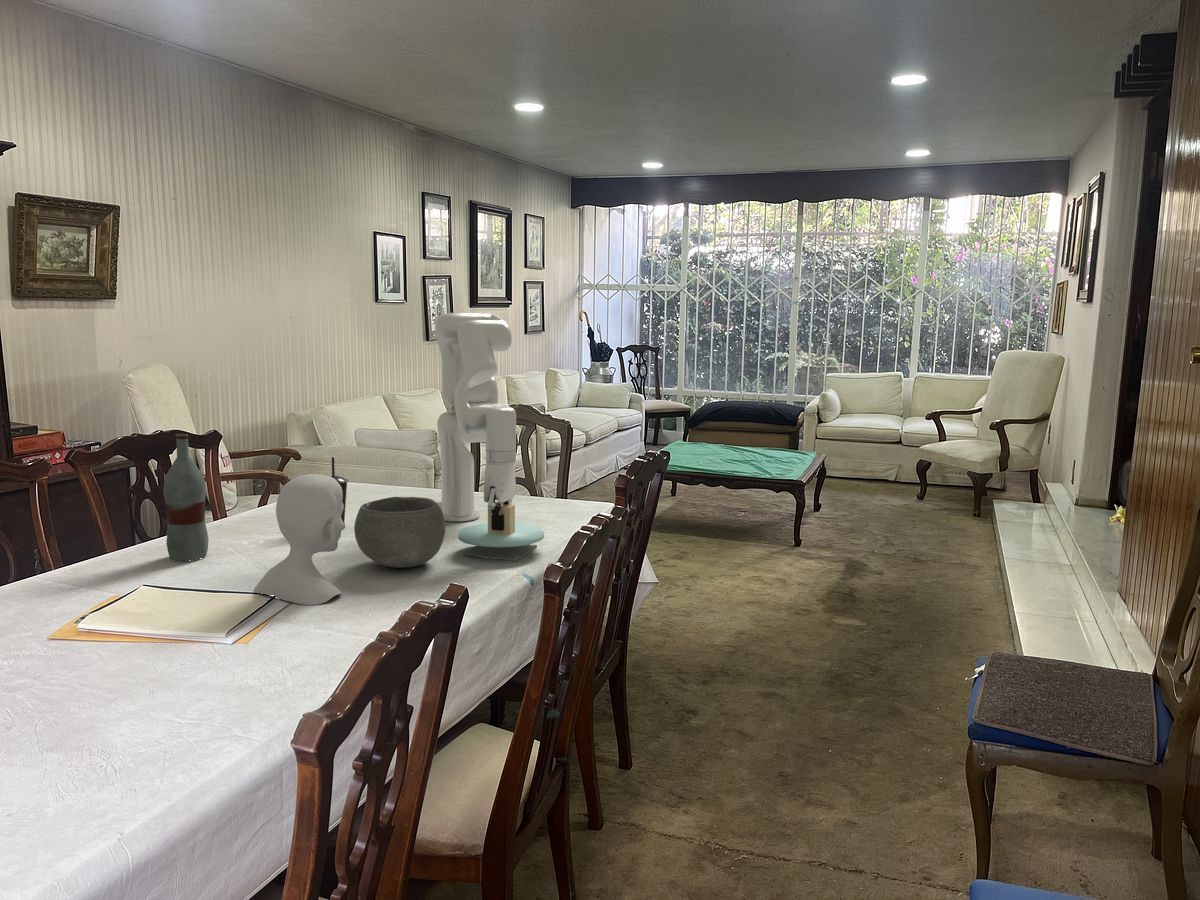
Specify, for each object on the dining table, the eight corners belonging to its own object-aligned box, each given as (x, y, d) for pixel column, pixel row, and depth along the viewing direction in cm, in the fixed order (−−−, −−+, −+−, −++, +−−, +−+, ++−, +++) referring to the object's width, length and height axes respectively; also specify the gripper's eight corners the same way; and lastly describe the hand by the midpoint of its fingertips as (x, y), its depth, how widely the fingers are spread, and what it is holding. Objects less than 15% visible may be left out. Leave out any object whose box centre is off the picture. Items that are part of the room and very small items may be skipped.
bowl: (425, 581, 198) (424, 516, 196) (339, 574, 202) (337, 510, 200) (458, 556, 219) (458, 497, 217) (379, 551, 223) (378, 492, 221)
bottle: (158, 559, 213) (151, 435, 208) (191, 550, 221) (185, 430, 216) (184, 564, 208) (177, 438, 204) (217, 555, 216) (211, 433, 212)
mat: (463, 555, 220) (463, 553, 220) (487, 542, 233) (487, 540, 233) (515, 561, 216) (515, 558, 216) (536, 547, 229) (536, 545, 229)
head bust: (380, 585, 195) (378, 473, 191) (312, 609, 179) (308, 487, 175) (312, 569, 206) (308, 463, 202) (241, 590, 190) (236, 476, 186)
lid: (442, 542, 217) (442, 510, 216) (480, 523, 237) (480, 494, 236) (524, 550, 210) (524, 517, 209) (556, 530, 231) (556, 500, 230)
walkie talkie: (353, 526, 248) (351, 455, 245) (343, 532, 240) (341, 460, 237) (327, 525, 249) (325, 454, 246) (315, 531, 241) (313, 459, 238)
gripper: (500, 451, 230) (500, 520, 232) (472, 460, 214) (473, 534, 217) (527, 452, 227) (527, 522, 230) (501, 462, 212) (501, 537, 215)
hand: (501, 527), depth 223 cm, fingers closed on lid, 3 cm apart
